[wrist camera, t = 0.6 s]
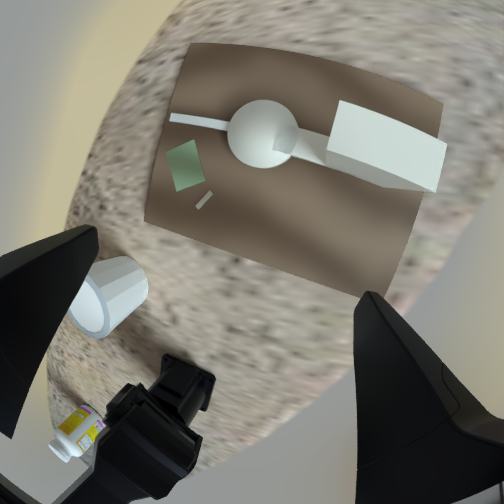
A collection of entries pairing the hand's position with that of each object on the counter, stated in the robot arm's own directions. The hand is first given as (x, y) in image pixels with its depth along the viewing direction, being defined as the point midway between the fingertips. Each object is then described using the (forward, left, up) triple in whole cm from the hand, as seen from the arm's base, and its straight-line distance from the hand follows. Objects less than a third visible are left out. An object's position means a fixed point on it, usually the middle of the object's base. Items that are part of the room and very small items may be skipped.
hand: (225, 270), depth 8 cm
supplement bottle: (-47, +23, -14) cm, 54 cm away
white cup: (-12, +14, -14) cm, 23 cm away
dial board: (+4, +1, -14) cm, 15 cm away
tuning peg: (+5, +3, -13) cm, 14 cm away
